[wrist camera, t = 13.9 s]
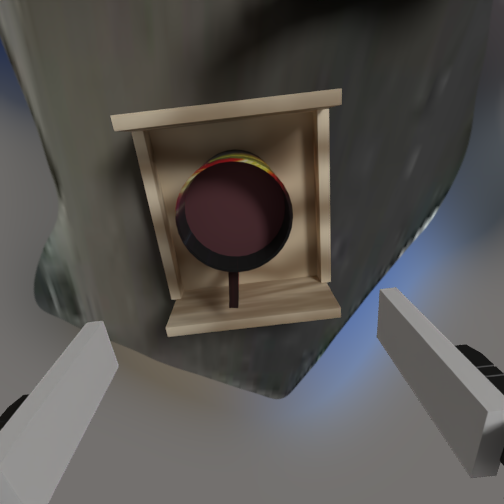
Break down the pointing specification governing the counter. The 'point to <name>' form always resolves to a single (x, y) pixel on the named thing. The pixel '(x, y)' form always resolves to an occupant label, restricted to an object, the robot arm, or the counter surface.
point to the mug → (234, 215)
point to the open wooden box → (290, 174)
